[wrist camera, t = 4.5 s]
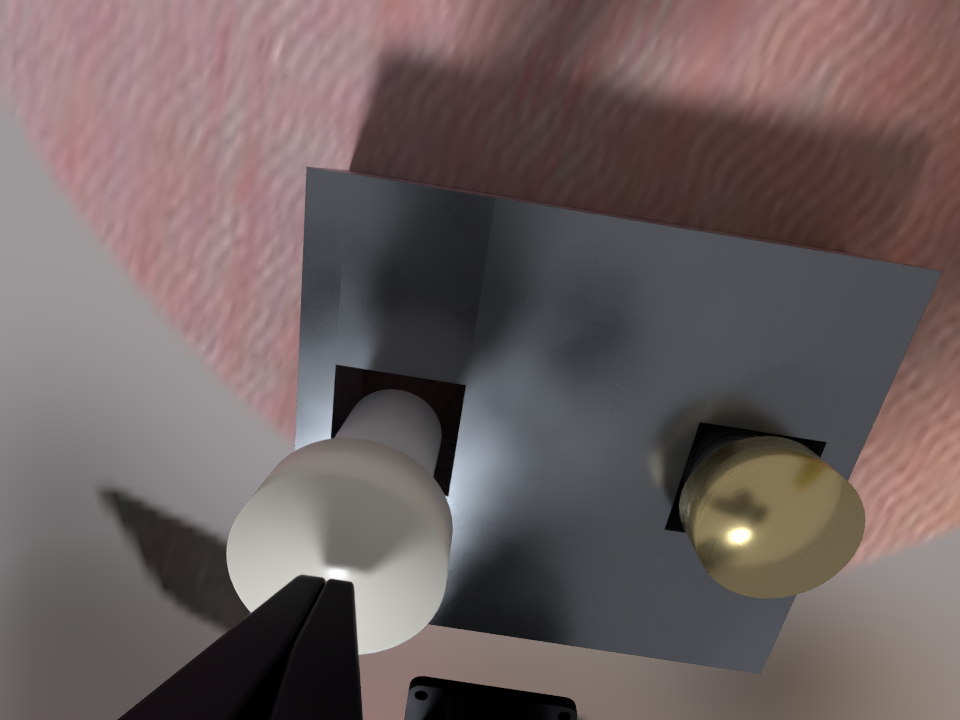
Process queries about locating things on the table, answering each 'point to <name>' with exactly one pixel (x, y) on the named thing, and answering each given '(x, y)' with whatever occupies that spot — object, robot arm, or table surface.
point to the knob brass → (767, 512)
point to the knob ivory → (355, 520)
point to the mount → (591, 390)
